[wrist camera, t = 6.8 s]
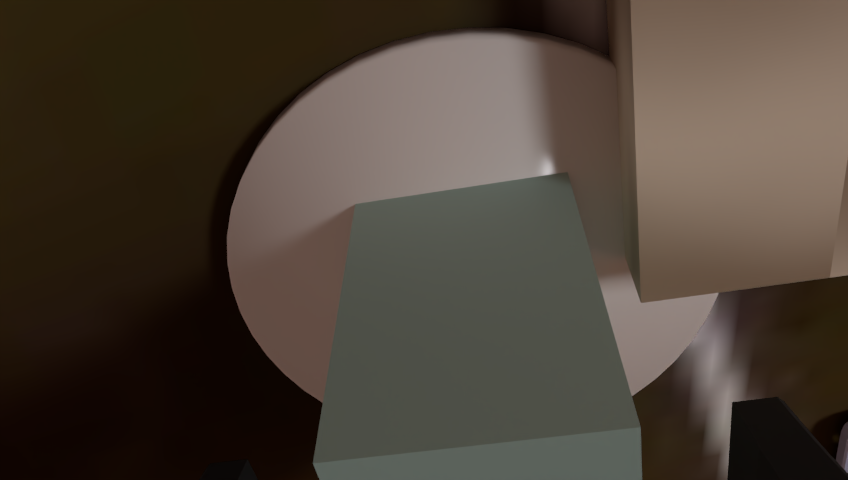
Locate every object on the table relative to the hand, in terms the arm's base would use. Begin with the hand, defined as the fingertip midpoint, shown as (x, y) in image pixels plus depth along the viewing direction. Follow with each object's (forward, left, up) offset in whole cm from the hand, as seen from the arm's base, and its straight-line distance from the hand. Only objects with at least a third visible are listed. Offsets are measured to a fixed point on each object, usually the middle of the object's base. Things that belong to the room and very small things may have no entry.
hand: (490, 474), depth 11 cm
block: (0, 0, -5) cm, 5 cm away
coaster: (0, 0, -5) cm, 5 cm away
